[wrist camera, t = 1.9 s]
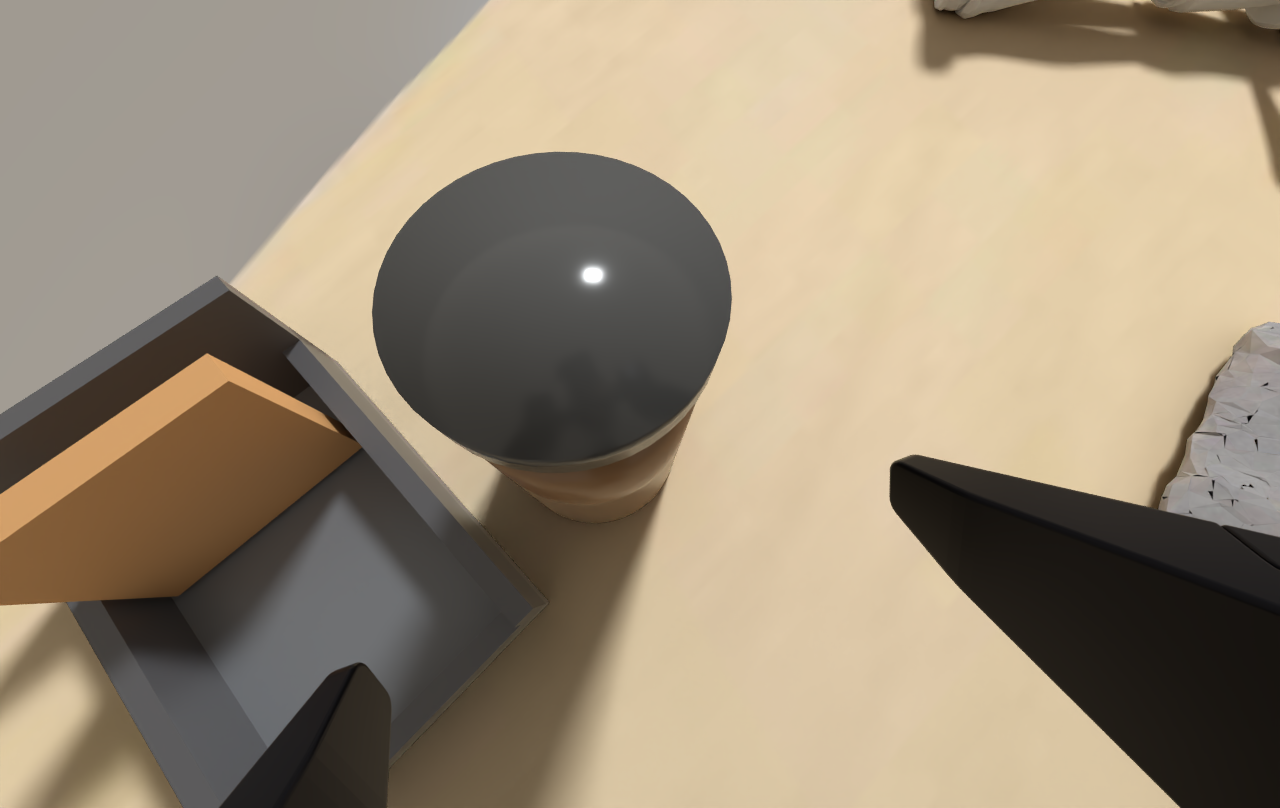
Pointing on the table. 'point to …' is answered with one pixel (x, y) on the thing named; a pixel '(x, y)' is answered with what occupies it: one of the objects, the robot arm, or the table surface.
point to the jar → (557, 324)
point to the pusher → (163, 489)
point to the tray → (283, 561)
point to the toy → (1266, 3)
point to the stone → (1236, 443)
